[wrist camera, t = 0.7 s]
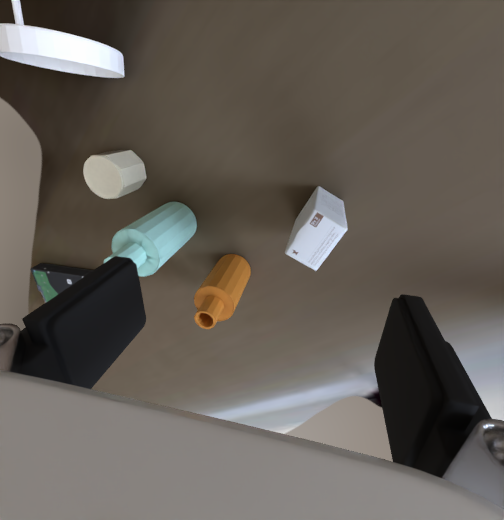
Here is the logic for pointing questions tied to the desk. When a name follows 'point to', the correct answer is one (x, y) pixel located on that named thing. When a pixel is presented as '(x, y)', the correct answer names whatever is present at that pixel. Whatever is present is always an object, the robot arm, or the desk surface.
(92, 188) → the cream short cylinder
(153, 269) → the bottle
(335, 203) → the cosmetic box
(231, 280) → the amber bottle
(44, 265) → the disk drive
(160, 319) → the desk surface
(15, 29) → the desk lamp
